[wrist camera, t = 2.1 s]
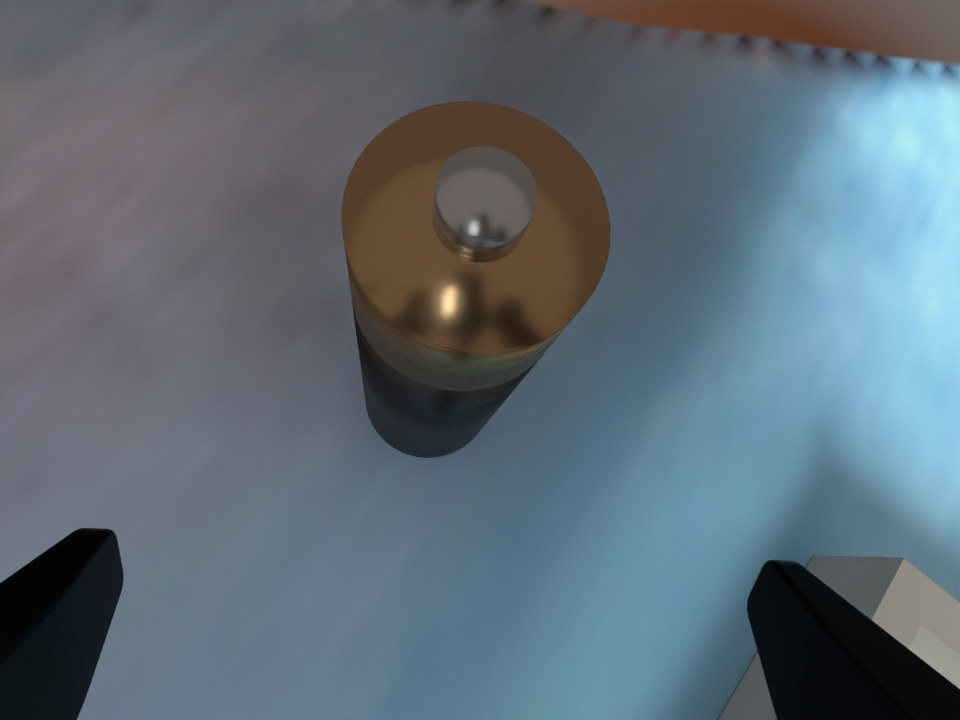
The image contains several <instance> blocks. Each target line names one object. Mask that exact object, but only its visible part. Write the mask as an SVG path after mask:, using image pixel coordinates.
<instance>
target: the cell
mask: <svg viewBox="0 0 960 720" xmlns="http://www.w3.org/2000/svg"><path fill="white" fill-rule="evenodd" d="M342 230H343V238H344V245H345V253H346V260H347V267H348V275H349V282H350V290H351V297H352V305H353V312H354V319H355V327H356V334H357V342H358V349H359V357H360V364H361V371H362V379H363V386H364V394H365V401H366V408H367V412H368V416H369V418H370V420H371V423H372V425H373V426H374V428H375V430H376V431H377V432H378V434H379V435H380V436H381V437H382V438H383V439H384V440H385V441H386V442H387V443H388V444H389V445H391V446H392V447H394V448H395V449H397V450H399V451H401V452H403V453H406V454H408V455H412V456H416V457H424V458H431V457H440V456H444V455H448V454H451V453H453V452H455V451H457V450H459V449H461V448H462V447H464V446H465V445H467V444H468V443H469V442H470V441H471V440H472V439H473V438H474V437H475V436H476V435H477V434H478V432H479V431H480V430H481V429H482V428H483V426H484V425H485V424H486V423H487V422H488V420H489V419H490V418H491V417H492V416H493V414H494V413H495V412H496V411H497V410H498V408H499V407H500V406H501V405H502V404H503V402H504V401H505V400H506V399H507V398H508V396H509V395H510V394H511V393H512V391H513V390H514V389H515V388H516V387H517V385H518V384H519V383H520V382H521V381H522V379H523V378H524V377H525V376H526V375H527V373H528V372H529V371H530V370H531V369H532V367H533V366H534V365H535V364H536V363H537V361H538V360H539V359H540V358H541V357H542V355H543V354H544V353H545V352H546V350H547V349H548V348H549V347H550V346H551V344H552V343H553V342H554V341H555V340H556V338H557V337H558V336H559V335H560V334H561V332H562V331H563V330H564V329H565V328H566V326H567V325H568V324H569V323H570V322H571V320H572V319H573V318H574V317H575V316H576V314H577V313H578V312H579V311H580V310H581V308H582V307H583V306H584V305H585V303H586V302H587V301H588V299H589V298H590V296H591V295H592V293H593V292H594V291H595V289H596V287H597V285H598V283H599V281H600V279H601V277H602V274H603V271H604V268H605V265H606V262H607V258H608V252H609V247H610V222H609V213H608V209H607V205H606V201H605V197H604V195H603V192H602V190H601V187H600V185H599V182H598V181H597V179H596V177H595V175H594V173H593V171H592V169H591V168H590V167H589V165H588V164H587V162H586V161H585V160H584V158H583V157H582V156H581V154H580V153H579V152H578V151H577V150H576V149H575V148H574V147H573V146H572V145H571V144H570V143H569V142H568V141H567V140H566V139H565V138H564V137H562V136H561V135H560V134H559V133H558V132H556V131H555V130H553V129H552V128H550V127H549V126H548V125H546V124H545V123H543V122H541V121H539V120H537V119H535V118H533V117H532V116H529V115H527V114H524V113H522V112H520V111H517V110H515V109H511V108H507V107H504V106H500V105H495V104H489V103H483V102H452V103H445V104H439V105H434V106H430V107H427V108H424V109H421V110H418V111H415V112H413V113H411V114H409V115H406V116H404V117H402V118H400V119H399V120H397V121H396V122H394V123H393V124H391V125H389V126H388V127H387V128H385V129H384V130H383V131H382V132H381V133H379V134H378V135H377V136H376V137H375V138H374V139H373V140H372V141H371V142H370V144H369V145H368V146H367V147H366V148H365V149H364V151H363V152H362V154H361V155H360V157H359V158H358V160H357V161H356V163H355V165H354V167H353V169H352V171H351V173H350V175H349V178H348V181H347V185H346V188H345V191H344V197H343V203H342Z"/></svg>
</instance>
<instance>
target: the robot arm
mask: <svg viewBox="0 0 960 720" xmlns="http://www.w3.org/2000/svg"><path fill="white" fill-rule="evenodd" d="M122 586H123V568H122V563H121V558H120V552H119V547H118V542H117V537H116V534H115V533H114V532H113V531H112V530H109V529H97V528H81V529H78V530H75V531H74V532H72V533H71V534H69V535H68V536H66V537H65V538H64V539H62V540H61V541H59V542H58V543H56V544H55V545H54V546H52V547H51V548H49V549H48V550H47V551H45V552H44V553H42V554H41V555H39V556H38V557H37V558H35V559H34V560H32V561H31V562H30V563H28V564H27V565H25V566H24V567H22V568H21V569H20V570H18V571H17V572H15V573H14V574H13V575H11V576H10V577H8V578H7V579H5V580H4V581H3V582H1V583H0V720H77V718H78V716H79V713H80V711H81V709H82V706H83V703H84V701H85V698H86V695H87V692H88V690H89V687H90V684H91V681H92V678H93V675H94V672H95V669H96V666H97V663H98V660H99V657H100V654H101V651H102V648H103V645H104V642H105V639H106V636H107V633H108V630H109V627H110V624H111V621H112V618H113V615H114V612H115V609H116V606H117V603H118V600H119V597H120V594H121V591H122ZM747 612H748V617H749V621H750V625H751V628H752V632H753V636H754V639H755V643H756V647H757V650H758V654H759V658H760V661H761V665H762V669H763V672H764V676H765V680H766V683H767V687H768V691H769V694H770V698H771V702H772V705H773V708H774V711H775V715H776V718H777V720H960V689H959V688H958V687H957V686H955V685H954V684H953V683H952V682H950V681H949V680H948V679H946V678H945V677H944V676H943V675H941V674H940V673H939V672H937V671H936V670H935V669H934V668H932V667H931V666H930V665H929V664H927V663H926V662H925V661H923V660H922V659H921V658H920V657H918V656H917V655H916V654H914V653H913V652H912V651H911V650H909V649H908V648H907V647H906V646H904V645H903V644H902V643H900V642H899V641H898V640H897V639H895V638H894V637H893V636H891V635H890V634H889V633H888V632H886V631H885V630H884V629H883V628H881V627H880V626H879V625H877V624H876V623H875V622H874V621H872V620H871V619H870V618H868V617H867V616H866V615H865V614H863V613H862V612H861V611H859V610H858V609H857V608H856V607H854V606H853V605H852V604H851V603H849V602H848V601H847V600H845V599H844V598H843V597H842V596H840V595H839V594H838V593H836V592H835V591H834V590H833V589H831V588H830V587H829V586H828V585H826V584H825V583H824V582H822V581H821V580H820V579H819V578H817V577H816V576H815V575H813V574H812V573H811V572H810V571H808V570H807V569H806V568H805V567H803V566H802V565H800V564H799V563H797V562H794V561H786V560H769V561H767V562H766V563H765V564H764V565H763V567H762V569H761V571H760V573H759V575H758V577H757V580H756V582H755V584H754V586H753V588H752V590H751V592H750V595H749V597H748V602H747Z"/></svg>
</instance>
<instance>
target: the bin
mask: <svg viewBox="0 0 960 720" xmlns="http://www.w3.org/2000/svg"><path fill="white" fill-rule="evenodd" d="M806 569H807V570H808V571H810V572H811V573H812V574H813V575H815V576H816V577H817V578H819V579H820V580H821V581H822V582H824V583H825V584H826V585H828V586H829V587H830V588H831V589H833V590H834V591H835V592H836V593H838V594H839V595H840V596H842V597H843V598H844V599H845V600H847V601H848V602H849V603H851V604H852V605H853V606H854V607H856V608H857V609H858V610H859V611H861V612H862V613H863V614H865V615H866V616H867V617H868V618H870V619H871V620H872V621H874V622H875V623H876V624H877V625H879V626H880V627H881V628H883V629H884V630H885V631H886V632H888V633H889V634H890V635H891V636H893V637H894V638H895V639H897V640H898V641H899V642H900V643H902V644H903V645H904V646H906V647H907V648H908V649H909V650H911V651H912V652H913V653H914V654H916V655H917V656H918V657H920V658H921V659H922V660H923V661H925V662H926V663H927V664H929V665H930V666H931V667H932V668H934V669H935V670H936V671H937V672H939V673H940V674H941V675H943V676H944V677H945V678H946V679H948V680H949V681H950V682H952V683H953V684H954V685H955V686H957V687H958V688H959V689H960V602H959V601H958V600H957V599H955V598H954V597H953V596H952V595H950V594H949V593H948V592H946V591H945V590H944V589H943V588H941V587H940V586H939V585H938V584H936V583H935V582H934V581H933V580H931V579H930V578H929V577H928V576H926V575H925V574H924V573H923V572H921V571H920V570H919V569H918V568H916V567H915V566H914V565H913V564H911V563H910V562H909V561H907V560H906V559H905V558H885V557H844V556H813V558H812V559H811V561H810V563H809V564H808V566H807V568H806ZM719 720H777V718H776V715H775V711H774V708H773V705H772V702H771V698H770V694H769V691H768V687H767V683H766V680H765V676H764V672H763V669H762V665H761V661H760V658H759V654H758V652H757V654H756V656H755V657H754V659H753V661H752V663H751V664H750V666H749V668H748V670H747V671H746V673H745V675H744V676H743V678H742V680H741V682H740V683H739V685H738V687H737V688H736V690H735V692H734V694H733V695H732V697H731V699H730V701H729V702H728V704H727V706H726V707H725V709H724V711H723V713H722V714H721V716H720V718H719Z"/></svg>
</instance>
